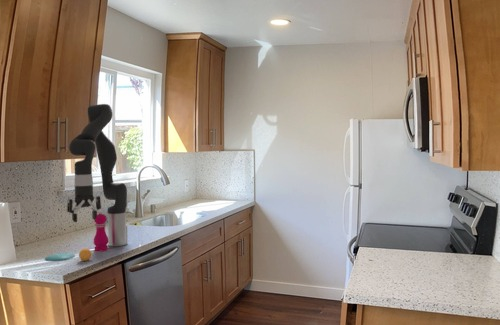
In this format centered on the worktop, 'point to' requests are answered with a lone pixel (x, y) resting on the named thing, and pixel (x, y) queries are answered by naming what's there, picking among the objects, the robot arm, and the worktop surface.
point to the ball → (85, 254)
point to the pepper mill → (100, 233)
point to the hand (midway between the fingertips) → (84, 220)
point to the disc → (59, 257)
